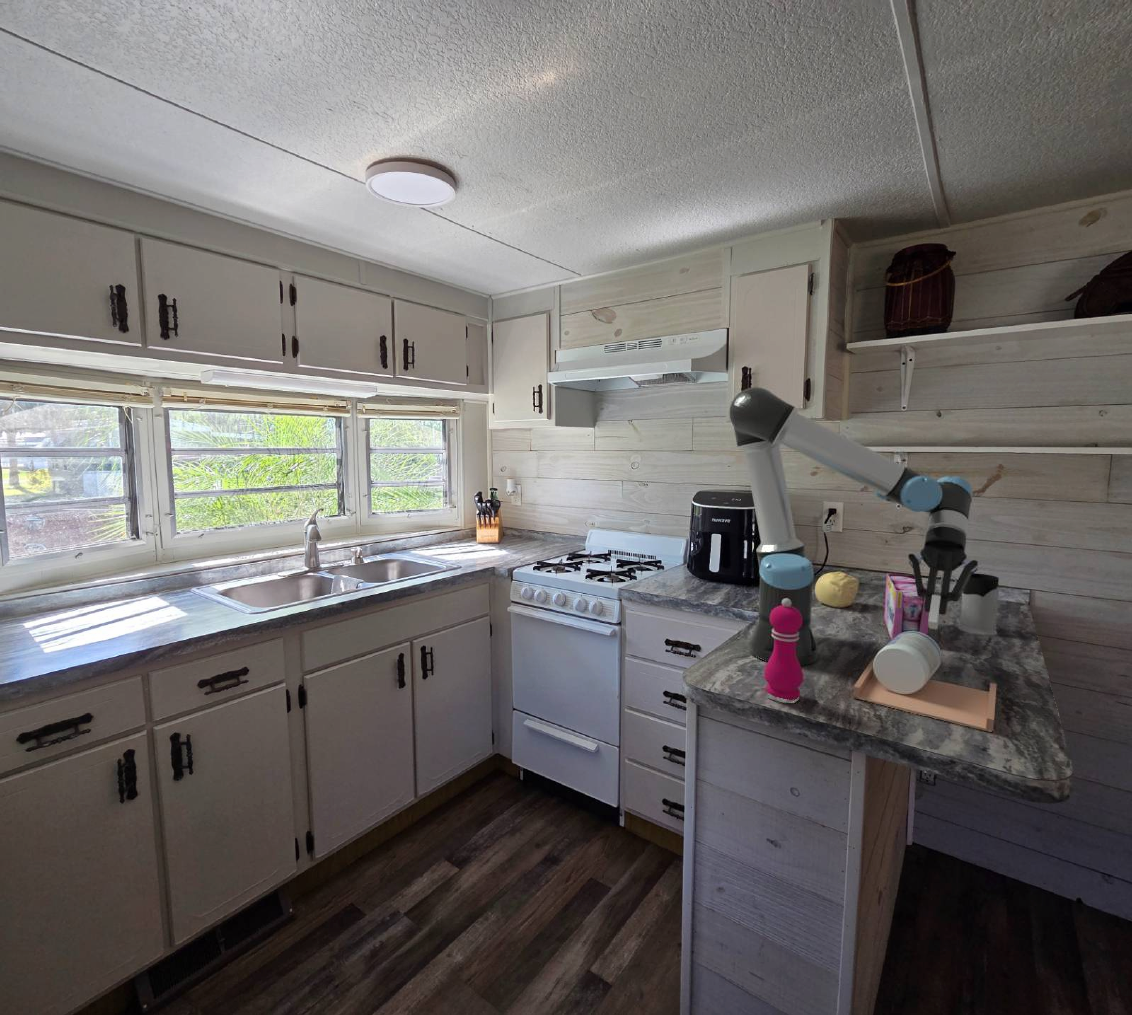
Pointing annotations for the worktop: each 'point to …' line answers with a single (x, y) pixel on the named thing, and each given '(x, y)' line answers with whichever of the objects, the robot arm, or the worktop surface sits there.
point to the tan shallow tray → (933, 700)
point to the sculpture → (836, 589)
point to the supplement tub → (907, 662)
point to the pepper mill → (784, 653)
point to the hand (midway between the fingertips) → (932, 625)
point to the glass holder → (978, 604)
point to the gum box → (904, 606)
